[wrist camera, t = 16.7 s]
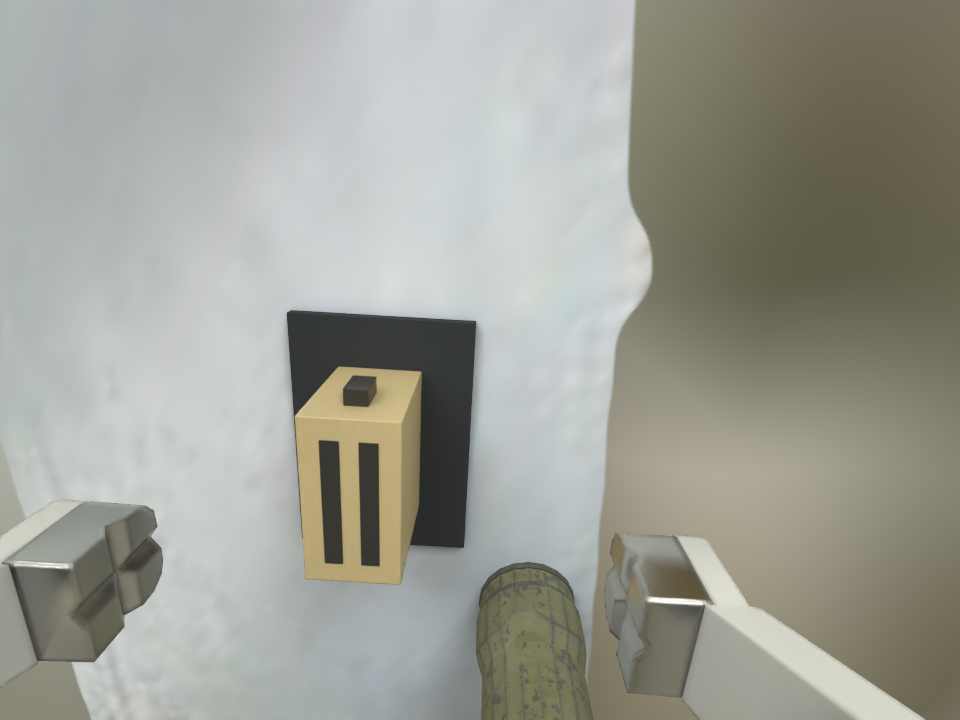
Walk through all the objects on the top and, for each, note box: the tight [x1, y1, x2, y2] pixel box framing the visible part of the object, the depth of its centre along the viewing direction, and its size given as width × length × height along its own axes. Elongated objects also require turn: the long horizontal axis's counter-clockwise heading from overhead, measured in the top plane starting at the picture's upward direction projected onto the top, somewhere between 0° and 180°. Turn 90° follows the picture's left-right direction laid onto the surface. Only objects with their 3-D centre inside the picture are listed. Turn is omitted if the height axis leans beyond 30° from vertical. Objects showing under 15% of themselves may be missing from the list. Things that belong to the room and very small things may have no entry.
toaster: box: [295, 367, 422, 585], centre depth 35 cm, size 13×6×9 cm, turn 177°
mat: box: [287, 310, 476, 548], centre depth 40 cm, size 20×14×1 cm
